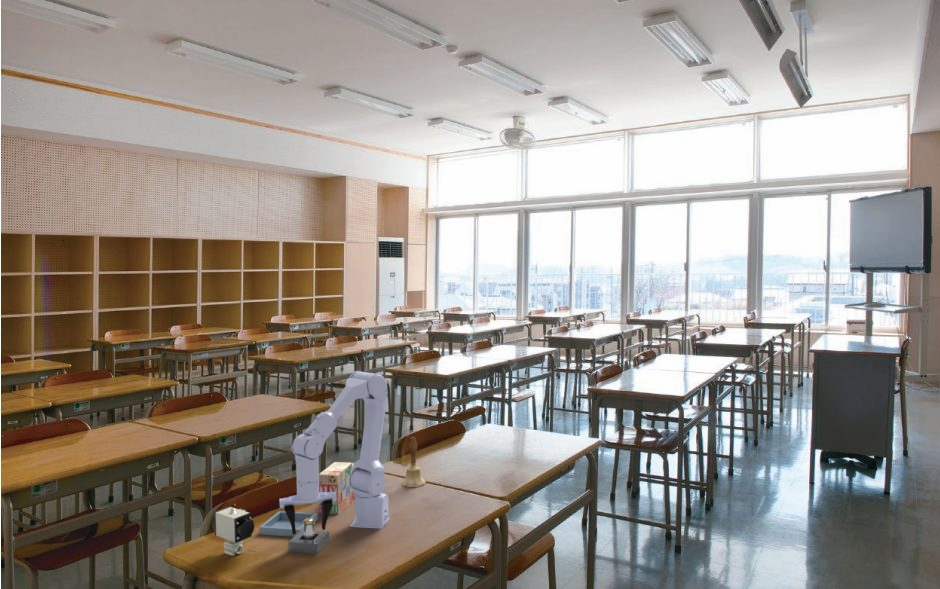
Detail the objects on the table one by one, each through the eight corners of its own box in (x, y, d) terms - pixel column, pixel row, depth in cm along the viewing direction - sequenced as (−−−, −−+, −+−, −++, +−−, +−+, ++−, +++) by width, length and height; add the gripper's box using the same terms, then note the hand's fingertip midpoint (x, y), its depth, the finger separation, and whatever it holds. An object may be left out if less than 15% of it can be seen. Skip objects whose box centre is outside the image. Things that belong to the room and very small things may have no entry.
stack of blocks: (345, 489, 219) (345, 453, 218) (363, 490, 218) (363, 454, 217) (319, 513, 198) (318, 473, 198) (338, 514, 197) (337, 474, 196)
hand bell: (404, 479, 229) (403, 434, 228) (427, 480, 228) (427, 434, 227) (398, 487, 221) (398, 440, 220) (422, 488, 220) (422, 441, 219)
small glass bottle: (316, 544, 175) (315, 518, 174) (312, 548, 172) (311, 522, 172) (306, 543, 175) (306, 517, 175) (302, 547, 172) (301, 521, 172)
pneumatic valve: (240, 562, 165) (239, 515, 165) (212, 551, 172) (210, 506, 171) (258, 554, 170) (257, 508, 169) (230, 544, 176) (228, 500, 176)
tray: (317, 521, 191) (317, 513, 191) (299, 538, 179) (299, 529, 179) (279, 519, 193) (279, 511, 193) (259, 536, 182) (259, 527, 181)
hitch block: (329, 542, 177) (329, 531, 177) (317, 555, 169) (317, 544, 169) (301, 540, 178) (301, 529, 178) (288, 553, 170) (288, 541, 170)
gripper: (333, 472, 179) (333, 521, 180) (278, 478, 174) (279, 528, 175) (337, 480, 172) (338, 530, 173) (280, 487, 167) (281, 539, 168)
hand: (308, 530), depth 173 cm, fingers open, 7 cm apart
